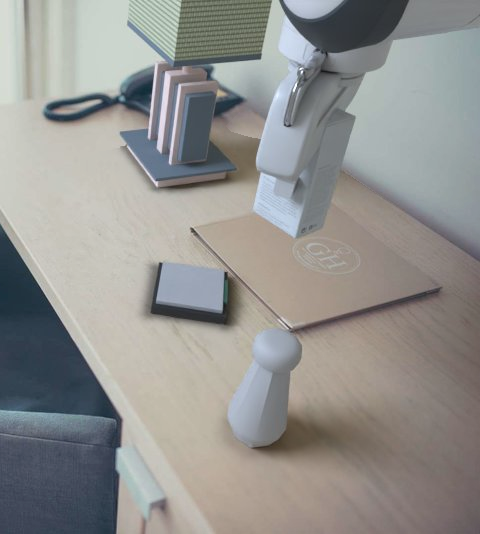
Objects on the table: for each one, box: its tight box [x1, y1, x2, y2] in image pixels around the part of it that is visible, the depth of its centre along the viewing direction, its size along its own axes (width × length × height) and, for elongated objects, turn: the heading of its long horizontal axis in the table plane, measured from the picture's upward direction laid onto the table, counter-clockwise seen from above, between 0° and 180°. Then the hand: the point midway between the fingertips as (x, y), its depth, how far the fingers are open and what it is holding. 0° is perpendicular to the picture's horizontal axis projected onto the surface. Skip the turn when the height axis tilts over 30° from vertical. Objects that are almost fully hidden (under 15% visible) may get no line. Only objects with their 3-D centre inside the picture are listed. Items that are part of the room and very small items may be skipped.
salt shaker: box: [227, 327, 303, 449], centre depth 61 cm, size 6×6×13 cm
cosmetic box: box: [252, 108, 357, 240], centre depth 61 cm, size 6×4×12 cm
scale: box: [150, 261, 229, 325], centre depth 81 cm, size 9×9×2 cm
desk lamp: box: [119, 0, 273, 189], centre depth 99 cm, size 18×14×33 cm
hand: (294, 178), depth 62 cm, fingers closed on cosmetic box, 5 cm apart
